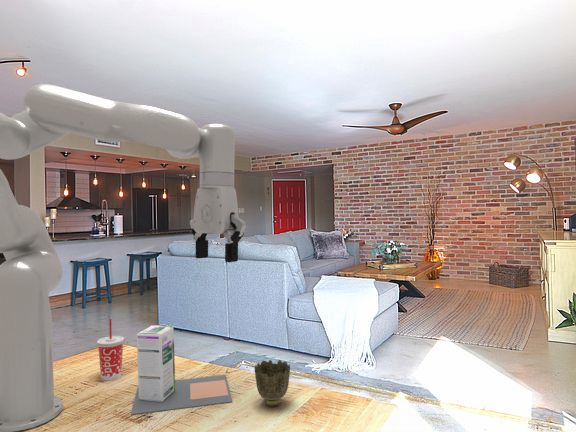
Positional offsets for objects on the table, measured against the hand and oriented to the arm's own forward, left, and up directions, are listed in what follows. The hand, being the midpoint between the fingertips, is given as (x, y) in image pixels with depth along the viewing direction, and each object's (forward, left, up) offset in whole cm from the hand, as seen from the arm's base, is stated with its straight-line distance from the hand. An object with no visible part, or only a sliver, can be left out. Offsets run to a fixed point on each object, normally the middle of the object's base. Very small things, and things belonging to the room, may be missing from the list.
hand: (216, 259), depth 90 cm
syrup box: (-13, +1, -29) cm, 32 cm away
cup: (+11, -9, -30) cm, 33 cm away
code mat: (-7, +1, -29) cm, 30 cm away
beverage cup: (-24, +15, -30) cm, 41 cm away
